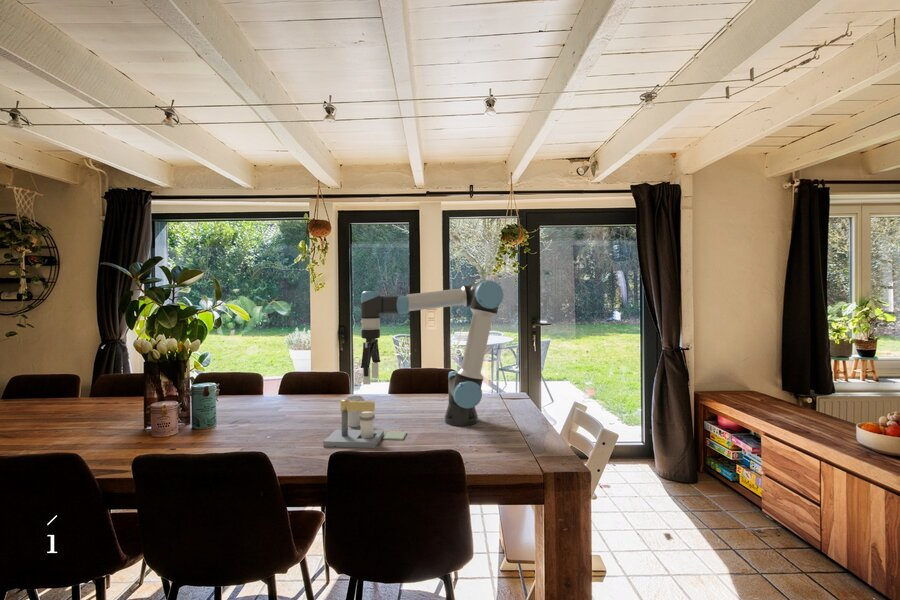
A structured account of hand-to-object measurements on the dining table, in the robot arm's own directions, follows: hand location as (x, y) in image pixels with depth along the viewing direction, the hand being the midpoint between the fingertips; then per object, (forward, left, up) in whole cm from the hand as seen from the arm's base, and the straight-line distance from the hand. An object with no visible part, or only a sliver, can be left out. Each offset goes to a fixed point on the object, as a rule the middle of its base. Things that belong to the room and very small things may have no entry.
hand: (371, 381), depth 168 cm
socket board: (+5, +7, -22) cm, 24 cm away
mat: (-10, +1, -22) cm, 24 cm away
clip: (+4, +7, -10) cm, 13 cm away
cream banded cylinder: (0, +7, -22) cm, 23 cm away
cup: (+11, -13, -22) cm, 28 cm away
